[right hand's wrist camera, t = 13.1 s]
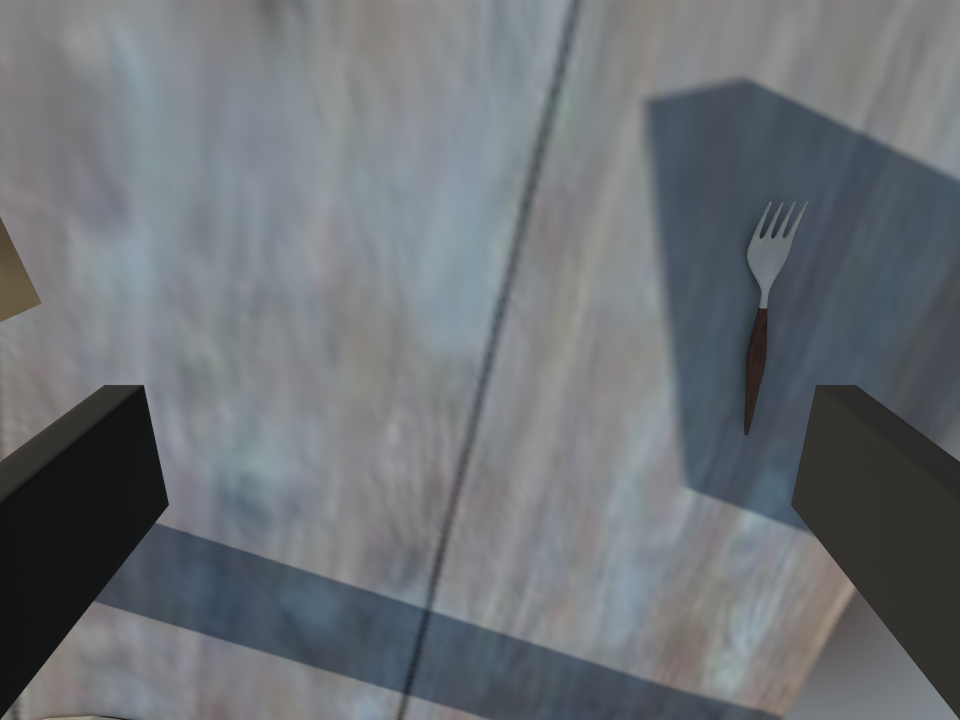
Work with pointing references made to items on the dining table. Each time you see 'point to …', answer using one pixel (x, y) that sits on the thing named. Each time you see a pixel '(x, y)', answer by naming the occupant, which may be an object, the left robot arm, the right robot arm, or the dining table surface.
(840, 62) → the dining table surface
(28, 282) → the box
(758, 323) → the fork
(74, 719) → the wall clock
